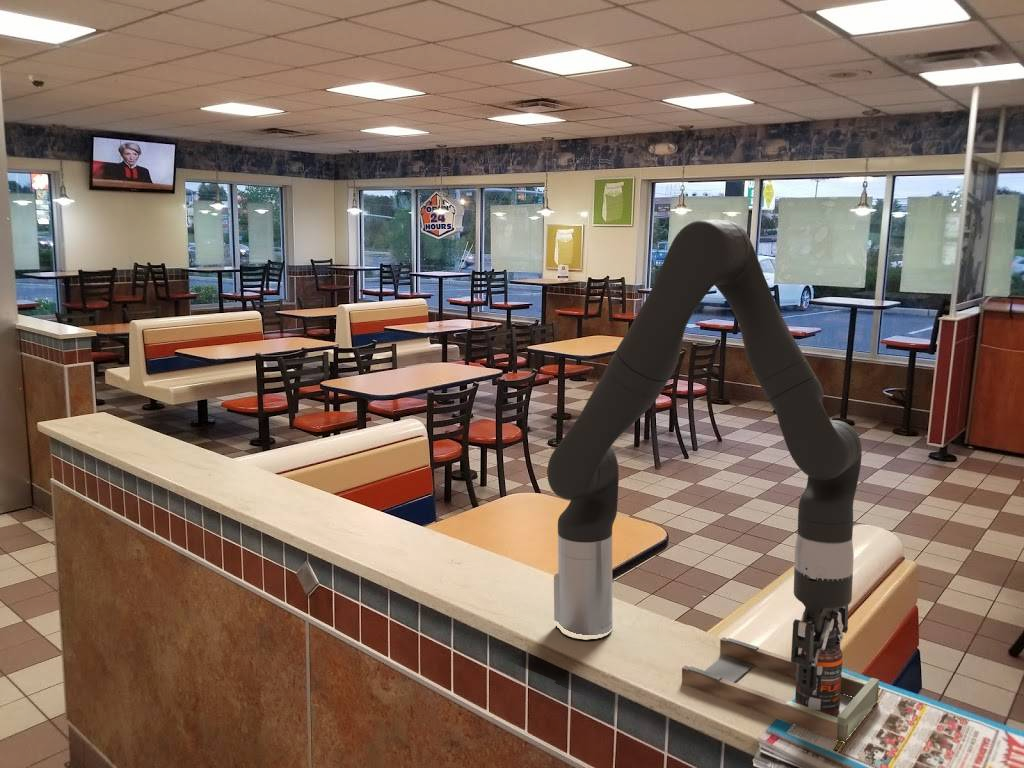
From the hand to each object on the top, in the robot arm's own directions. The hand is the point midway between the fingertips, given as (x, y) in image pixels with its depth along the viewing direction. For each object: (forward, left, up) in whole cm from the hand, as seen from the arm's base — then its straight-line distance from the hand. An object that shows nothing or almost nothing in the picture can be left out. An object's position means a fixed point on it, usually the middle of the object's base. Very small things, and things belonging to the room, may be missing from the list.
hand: (819, 676), depth 114 cm
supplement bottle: (0, 0, -5) cm, 5 cm away
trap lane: (-6, 0, -5) cm, 8 cm away
